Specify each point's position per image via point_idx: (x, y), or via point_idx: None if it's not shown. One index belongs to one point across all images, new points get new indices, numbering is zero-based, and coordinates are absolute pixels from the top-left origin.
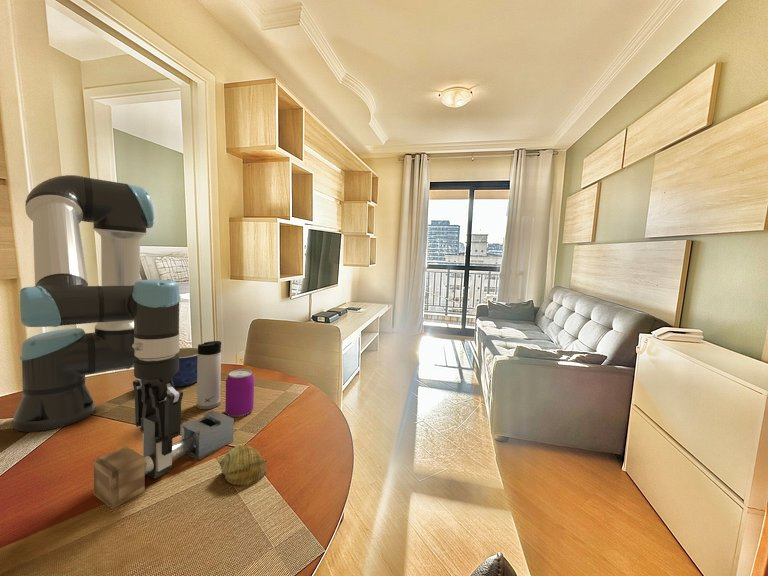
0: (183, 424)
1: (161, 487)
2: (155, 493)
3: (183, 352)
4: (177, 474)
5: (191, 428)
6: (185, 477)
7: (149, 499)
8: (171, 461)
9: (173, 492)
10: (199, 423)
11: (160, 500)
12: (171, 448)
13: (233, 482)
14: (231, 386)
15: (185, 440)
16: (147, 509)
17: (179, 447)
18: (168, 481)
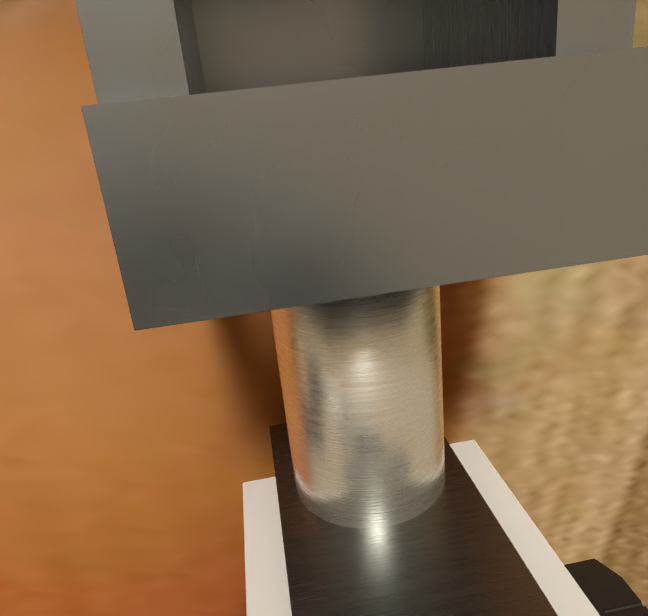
0: (171, 319)
1: (518, 481)
2: (538, 516)
3: None
4: (481, 374)
5: (417, 281)
6: (560, 351)
7: (557, 547)
8: (484, 460)
9: (622, 450)
10: (406, 114)
11: (616, 513)
12: (640, 607)
13: None
14: None
15: (399, 329)
16: (618, 569)
17: (437, 401)
18: (500, 437)
